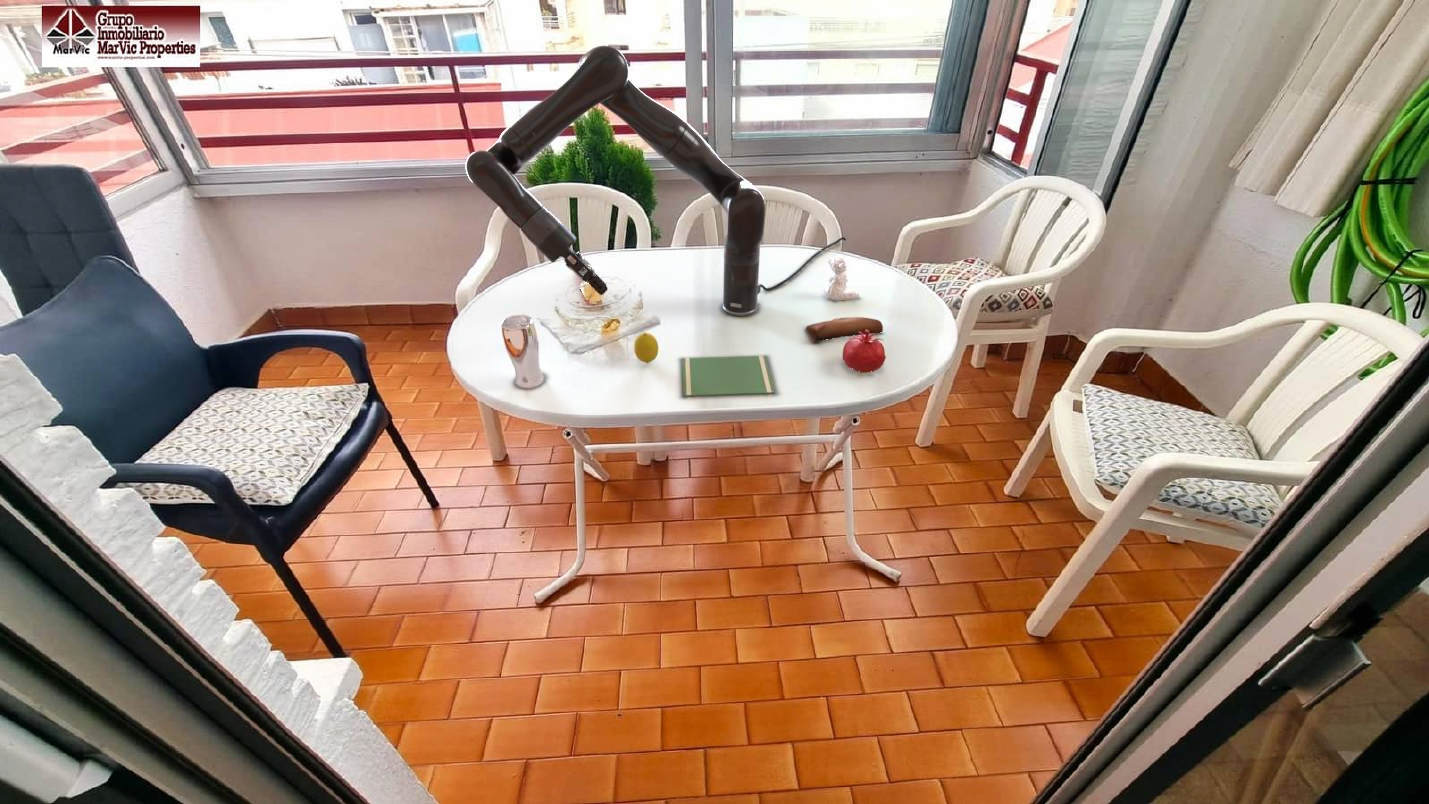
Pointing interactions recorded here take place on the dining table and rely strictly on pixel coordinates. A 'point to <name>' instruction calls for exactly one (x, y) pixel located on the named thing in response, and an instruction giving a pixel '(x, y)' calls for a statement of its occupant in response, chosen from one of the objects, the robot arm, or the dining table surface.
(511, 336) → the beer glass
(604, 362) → the dining table surface
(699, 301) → the dining table surface
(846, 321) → the sunglasses case
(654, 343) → the lemon
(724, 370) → the cloth
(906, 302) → the dining table surface
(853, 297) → the white creature statuette
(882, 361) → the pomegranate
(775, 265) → the dining table surface
